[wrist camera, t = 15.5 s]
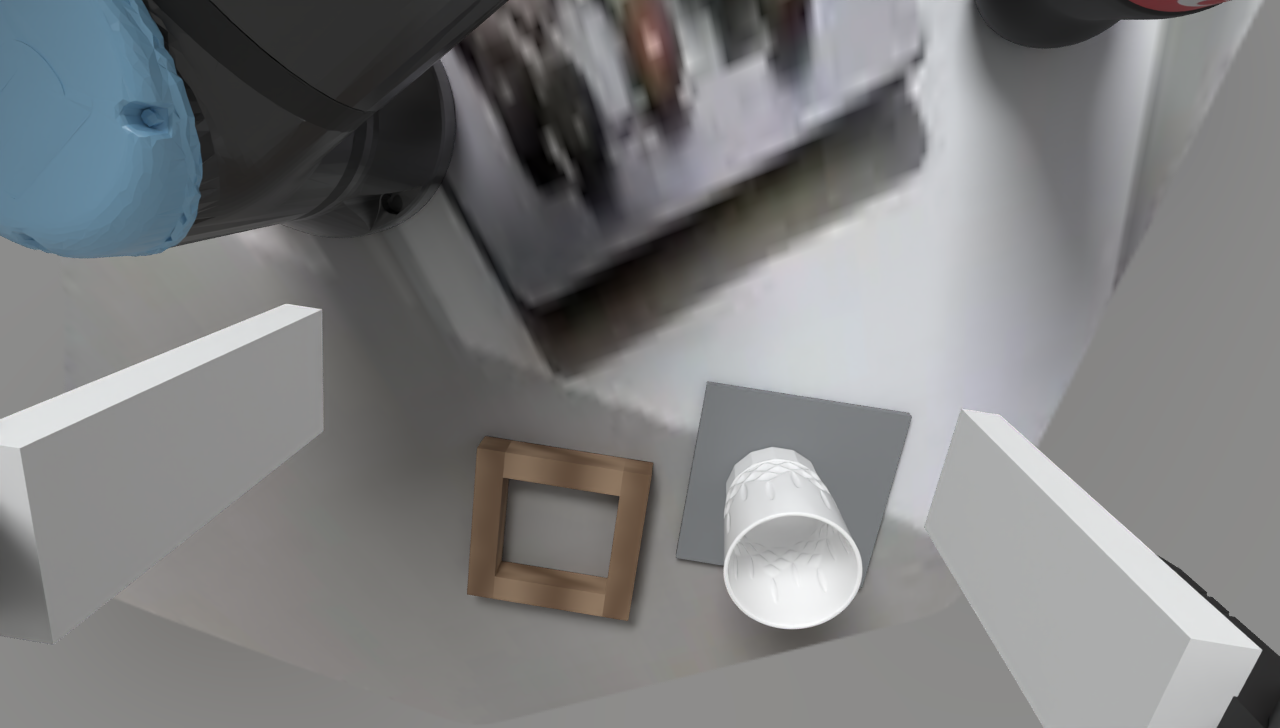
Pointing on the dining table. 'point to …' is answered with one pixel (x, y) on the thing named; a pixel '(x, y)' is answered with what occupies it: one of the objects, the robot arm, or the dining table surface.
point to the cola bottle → (1075, 17)
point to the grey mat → (816, 429)
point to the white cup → (786, 543)
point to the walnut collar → (562, 470)
